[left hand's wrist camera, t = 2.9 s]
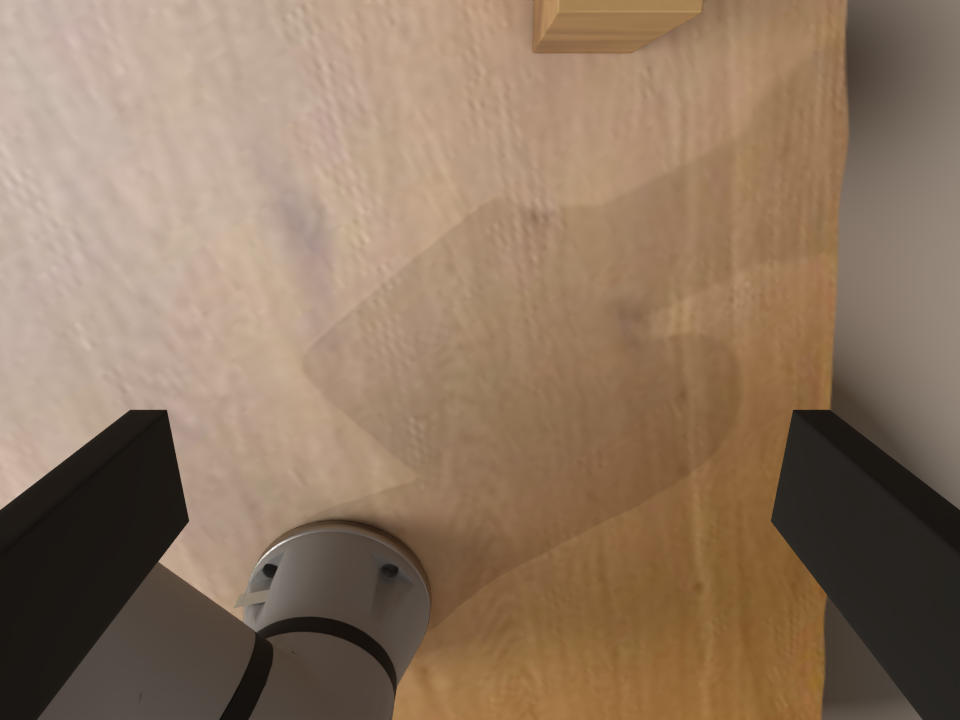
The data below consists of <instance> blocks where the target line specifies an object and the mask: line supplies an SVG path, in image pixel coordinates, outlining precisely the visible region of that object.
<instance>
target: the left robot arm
mask: <svg viewBox="0 0 960 720" xmlns="http://www.w3.org/2000/svg"><path fill="white" fill-rule="evenodd" d="M188 522H189V518H188V513H187V508H186V503H185V498H184V493H183V488H182V483H181V478H180V473H179V468H178V463H177V458H176V453H175V448H174V443H173V438H172V433H171V428H170V423H169V418H168V413H167V410H130V411H128V412H127V413H126V414H124V415H123V416H122V417H120V418H119V419H118V420H117V421H115V422H114V423H113V424H111V425H110V426H109V427H107V428H106V429H105V430H104V431H102V432H101V433H100V434H98V435H97V436H96V437H95V438H93V439H92V440H91V441H89V442H88V443H87V444H85V445H84V446H83V447H82V448H80V449H79V450H78V451H76V452H75V453H74V454H72V455H71V456H70V457H69V458H67V459H66V460H65V461H63V462H62V463H61V464H59V465H58V466H57V467H56V468H54V469H53V470H52V471H50V472H49V473H48V474H47V475H45V476H44V477H43V478H41V479H40V480H39V481H37V482H36V483H35V484H34V485H32V486H31V487H30V488H28V489H27V490H26V491H24V492H23V493H22V494H21V495H19V496H18V497H17V498H15V499H14V500H13V501H11V502H10V503H9V504H8V505H6V506H5V507H4V508H2V509H1V510H0V720H392V716H393V709H394V701H395V695H396V689H397V685H398V684H399V682H400V680H401V678H402V676H403V675H404V673H405V671H406V669H407V667H408V666H409V664H410V662H411V660H412V658H413V657H414V655H415V653H416V651H417V649H418V648H419V646H420V644H421V642H422V640H423V638H424V635H425V632H426V629H427V626H428V622H429V616H430V608H431V589H430V584H429V580H428V578H427V575H426V573H425V570H424V568H423V567H422V565H421V563H420V562H419V560H418V559H417V558H416V557H415V555H414V554H413V553H412V552H411V551H410V550H409V549H408V548H407V547H406V546H405V545H403V544H402V543H401V542H400V541H398V540H397V539H395V538H394V537H392V536H390V535H389V534H387V533H385V532H383V531H381V530H379V529H376V528H373V527H371V526H367V525H364V524H360V523H355V522H348V521H321V522H314V523H310V524H306V525H303V526H300V527H297V528H295V529H292V530H290V531H288V532H287V533H285V534H283V535H282V536H280V537H279V538H277V539H276V540H275V541H274V542H273V543H271V544H270V546H269V547H268V548H267V549H266V550H265V551H264V553H263V554H262V555H261V557H260V559H259V561H258V562H257V564H256V566H255V568H254V570H253V572H252V574H251V577H250V579H249V582H248V586H247V590H246V594H244V595H240V597H239V598H238V600H237V602H236V604H235V606H234V608H236V607H241V606H244V618H243V622H242V621H240V620H239V619H238V618H236V617H235V616H233V615H232V614H231V613H229V612H228V611H226V610H225V609H224V608H222V607H221V606H219V605H218V604H217V603H215V602H214V601H212V600H211V599H209V598H208V597H207V596H205V595H204V594H202V593H201V592H200V591H198V590H197V589H195V588H194V587H193V586H191V585H190V584H188V583H187V582H186V581H184V580H183V579H181V578H180V577H179V576H177V575H176V574H174V573H173V572H171V571H170V570H169V569H167V568H166V567H164V566H163V565H162V564H160V563H159V562H158V561H159V560H160V558H161V557H162V556H163V555H164V553H165V552H166V551H167V549H168V548H169V547H170V545H171V544H172V543H173V541H174V540H175V539H176V537H177V536H178V535H179V534H180V532H181V531H182V530H183V528H184V527H185V526H186V524H187V523H188ZM771 522H772V523H773V524H774V526H775V527H776V528H777V530H778V531H779V532H780V534H781V535H782V536H783V537H784V539H785V540H786V541H787V543H788V544H789V545H790V547H791V548H792V549H793V551H794V552H795V553H796V555H797V556H798V557H799V558H800V560H801V561H802V562H803V564H804V565H805V566H806V568H807V569H808V570H809V572H810V573H811V574H812V575H813V577H814V578H815V579H816V581H817V582H818V583H819V585H820V586H821V587H822V589H823V590H824V591H825V592H826V594H827V595H828V596H829V598H830V599H831V600H832V602H833V603H834V604H835V606H836V607H837V608H838V609H839V611H840V612H841V613H842V615H843V616H844V617H845V619H846V620H847V621H848V623H849V624H850V625H851V626H852V628H853V629H854V630H855V632H856V633H857V634H858V636H859V637H860V638H861V640H862V641H863V642H864V643H865V645H866V646H867V647H868V649H869V650H870V651H871V653H872V654H873V655H874V657H875V658H876V659H877V660H878V662H879V663H880V664H881V666H882V667H883V668H884V669H885V671H886V672H887V674H888V675H889V676H890V678H891V679H892V680H893V681H894V683H895V684H896V685H897V687H898V688H899V689H900V691H901V692H902V693H903V695H904V696H905V697H906V698H907V700H908V701H909V702H910V704H911V705H912V706H913V708H914V709H915V710H916V712H917V713H918V714H919V715H920V717H921V718H922V719H923V720H960V510H959V509H958V508H956V507H955V506H954V505H952V504H951V503H950V502H949V501H947V500H946V499H945V498H943V497H942V496H941V495H939V494H938V493H937V492H935V491H934V490H933V489H932V488H930V487H929V486H928V485H926V484H925V483H924V482H923V481H921V480H920V479H919V478H917V477H916V476H915V475H913V474H912V473H911V472H910V471H908V470H907V469H906V468H904V467H903V466H902V465H901V464H899V463H898V462H897V461H895V460H894V459H893V458H891V457H890V456H889V455H888V454H886V453H885V452H884V451H882V450H881V449H880V448H878V447H877V446H876V445H875V444H873V443H872V442H871V441H869V440H868V439H867V438H865V437H864V436H863V435H862V434H860V433H859V432H858V431H856V430H855V429H854V428H852V427H851V426H850V425H849V424H847V423H846V422H845V421H843V420H842V419H841V418H840V417H838V416H837V415H836V414H834V413H833V412H832V411H830V410H793V413H792V418H791V423H790V428H789V433H788V438H787V443H786V448H785V453H784V458H783V463H782V468H781V473H780V478H779V483H778V488H777V493H776V498H775V503H774V508H773V513H772V518H771Z"/></svg>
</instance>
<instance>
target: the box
mask: <svg viewBox="0 0 960 720" xmlns="http://www.w3.org/2000/svg"><path fill="white" fill-rule="evenodd" d="M703 1H704V0H534V5H533V42H532V52H533V53H632V52H633V51H635V50H637V49H639V48H640V47H642V46H644V45H646V44H647V43H649V42H651V41H653V40H654V39H656V38H658V37H660V36H661V35H663V34H665V33H667V32H668V31H670V30H672V29H674V28H675V27H677V26H679V25H680V24H682V23H684V22H686V21H687V20H689V19H691V18H693V17H694V16H696V15H698V14H700V13H701V12H702V10H703Z"/></svg>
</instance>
